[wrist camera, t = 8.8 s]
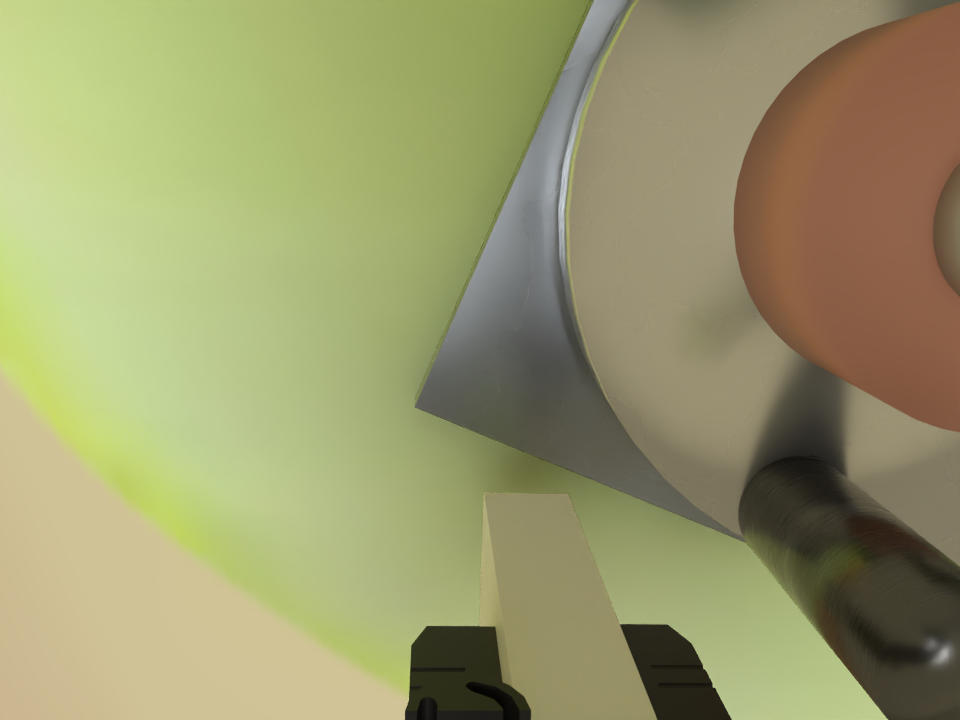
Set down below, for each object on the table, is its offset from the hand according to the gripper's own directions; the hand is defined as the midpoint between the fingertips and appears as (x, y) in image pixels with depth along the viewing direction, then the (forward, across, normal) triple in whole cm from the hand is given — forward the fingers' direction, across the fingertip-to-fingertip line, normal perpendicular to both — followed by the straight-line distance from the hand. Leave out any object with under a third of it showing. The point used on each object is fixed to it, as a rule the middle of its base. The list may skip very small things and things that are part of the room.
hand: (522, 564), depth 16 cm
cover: (+3, +8, +6) cm, 10 cm away
